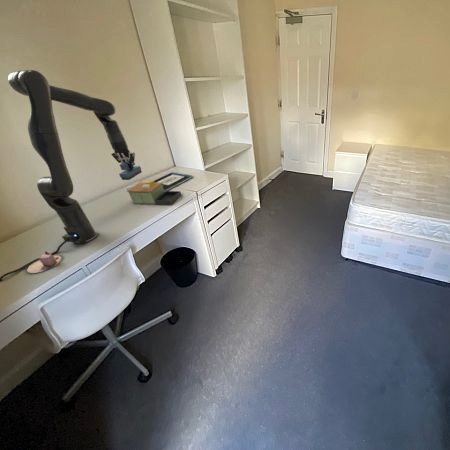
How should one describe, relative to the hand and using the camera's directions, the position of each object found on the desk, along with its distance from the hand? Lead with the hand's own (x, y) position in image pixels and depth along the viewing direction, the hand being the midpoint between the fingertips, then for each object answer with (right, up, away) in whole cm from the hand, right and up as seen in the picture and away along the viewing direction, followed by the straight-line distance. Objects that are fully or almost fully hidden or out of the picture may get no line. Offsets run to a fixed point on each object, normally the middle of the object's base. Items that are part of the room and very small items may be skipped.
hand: (129, 169), depth 154 cm
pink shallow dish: (-12, -51, -39) cm, 65 cm away
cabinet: (+5, -17, +12) cm, 22 cm away
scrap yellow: (+7, -8, +10) cm, 14 cm away
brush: (0, -4, +2) cm, 4 cm away
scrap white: (+7, -11, +5) cm, 14 cm away
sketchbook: (+5, -3, +35) cm, 35 cm away
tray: (+18, -17, +11) cm, 27 cm away
